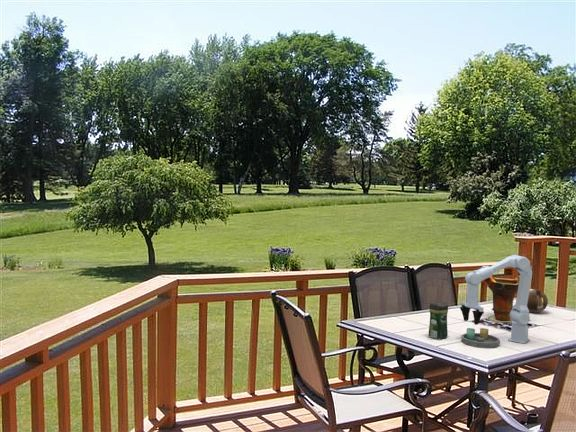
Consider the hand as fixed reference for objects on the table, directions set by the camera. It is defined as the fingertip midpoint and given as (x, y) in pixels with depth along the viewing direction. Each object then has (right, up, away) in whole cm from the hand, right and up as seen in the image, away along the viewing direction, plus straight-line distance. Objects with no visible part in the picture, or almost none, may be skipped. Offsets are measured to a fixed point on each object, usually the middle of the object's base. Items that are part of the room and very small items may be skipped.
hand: (471, 322), depth 272 cm
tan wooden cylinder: (+7, -9, +1) cm, 11 cm away
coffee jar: (-15, -9, +6) cm, 19 cm away
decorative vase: (+35, -8, +47) cm, 59 cm away
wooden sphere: (+64, -7, +68) cm, 94 cm away
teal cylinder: (0, -8, 0) cm, 8 cm away
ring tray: (+4, -10, -3) cm, 11 cm away
